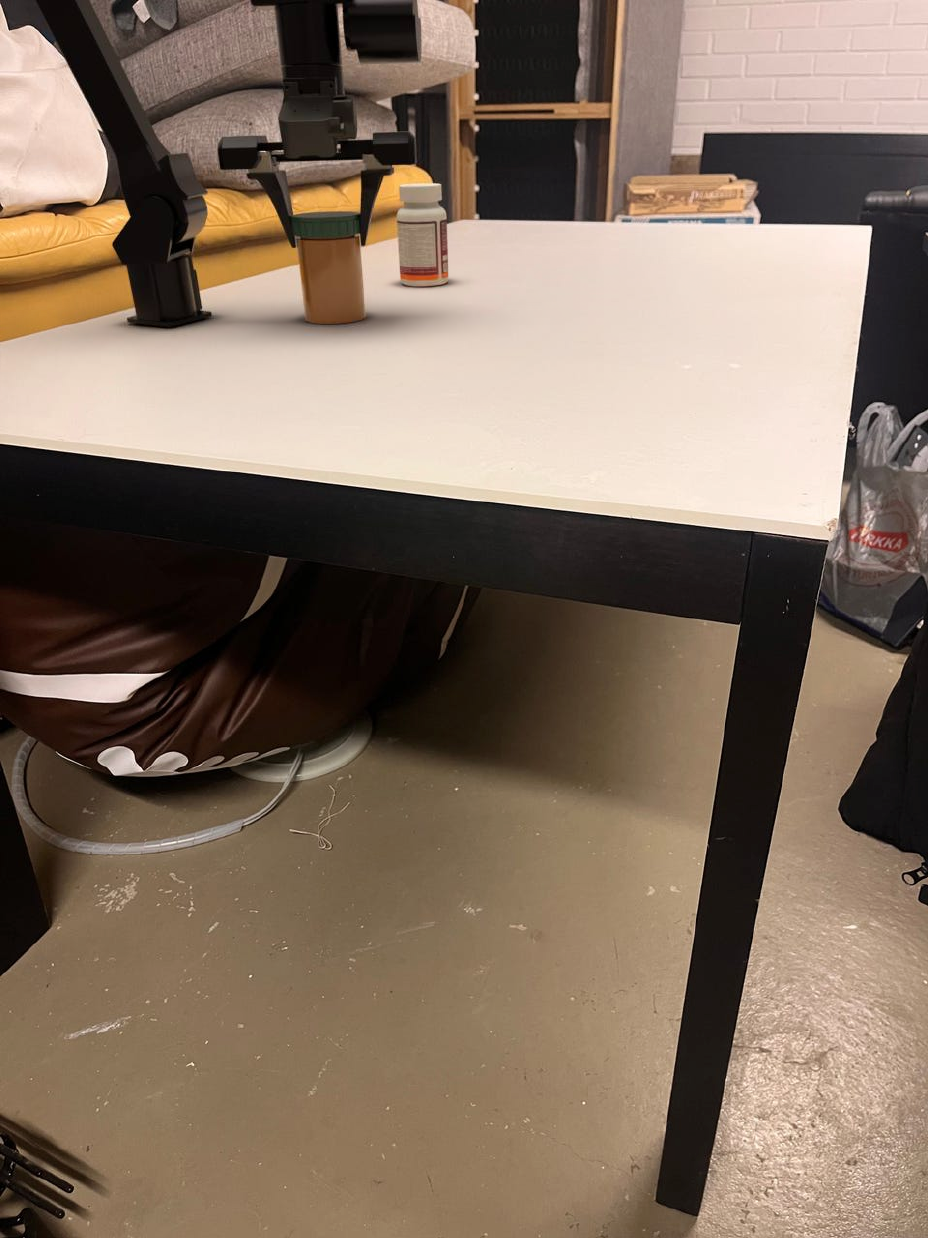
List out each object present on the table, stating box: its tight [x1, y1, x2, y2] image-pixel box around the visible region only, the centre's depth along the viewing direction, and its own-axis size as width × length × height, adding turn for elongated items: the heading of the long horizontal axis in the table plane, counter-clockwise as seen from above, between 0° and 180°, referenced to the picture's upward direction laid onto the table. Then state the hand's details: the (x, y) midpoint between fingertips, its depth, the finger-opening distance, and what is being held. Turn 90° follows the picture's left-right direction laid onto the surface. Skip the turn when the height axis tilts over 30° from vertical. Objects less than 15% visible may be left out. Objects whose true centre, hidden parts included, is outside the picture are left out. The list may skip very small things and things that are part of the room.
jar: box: [296, 234, 367, 325], centre depth 90 cm, size 6×6×10 cm
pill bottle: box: [396, 182, 449, 288], centre depth 109 cm, size 6×6×11 cm
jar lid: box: [291, 210, 360, 238], centre depth 88 cm, size 7×7×2 cm
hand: (328, 246), depth 89 cm, fingers closed on jar lid, 7 cm apart
